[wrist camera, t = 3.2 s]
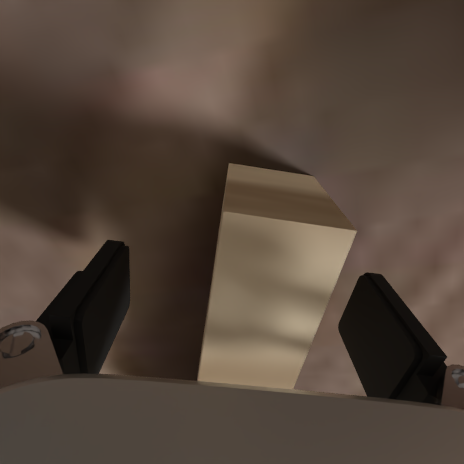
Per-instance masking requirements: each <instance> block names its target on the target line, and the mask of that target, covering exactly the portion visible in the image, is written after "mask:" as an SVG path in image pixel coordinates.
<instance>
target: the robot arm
mask: <svg viewBox="0 0 464 464" xmlns="http://www.w3.org/2000/svg"><path fill="white" fill-rule="evenodd" d="M129 304H130V269H129V247H128V246H125V244H124V242H121V241H113V240H107V241H106V242H105V244H104V245H103V246H102V248H101V249H100V250H99V251H98V253H97V254H96V255H95V256H94V258H93V259H92V260H91V262H90V263H89V264H88V265H87V267H86V268H85V269H84V270H83V271H78V272H76V273H75V274H74V275H73V277H72V278H71V279H70V280H69V281H68V283H67V284H66V285H65V286H64V288H63V289H62V290H61V291H60V292H59V294H58V295H57V296H56V297H55V299H54V300H53V301H52V302H51V303H50V305H49V306H48V307H47V308H46V310H45V311H44V312H43V313H42V314H41V316H40V317H39V318H38V319H37V321H20V322H16V323H12V324H10V325H7V326H5V327H2V328H1V329H0V464H464V366H461V365H450V366H448V367H447V366H446V364H445V363H444V361H445V359H446V358H447V356H446V355H445V353H444V352H443V351H442V350H441V348H440V347H439V346H438V345H437V343H436V342H435V341H434V340H433V338H432V337H431V336H430V335H429V333H428V332H427V331H426V330H425V328H424V327H423V326H422V325H421V323H420V322H419V321H418V319H417V318H416V317H415V316H414V314H413V313H412V312H411V311H410V309H409V308H408V307H407V306H406V304H405V303H404V302H403V301H402V299H401V298H400V297H399V296H398V294H397V293H396V292H395V291H394V289H393V288H392V287H391V286H390V284H389V283H388V282H387V280H386V279H385V278H384V277H383V276H382V275H381V274H375V273H365V274H364V275H362V276H360V277H359V279H358V281H357V283H356V285H355V288H354V290H353V292H352V295H351V297H350V299H349V301H348V304H347V306H346V308H345V310H344V313H343V315H342V317H341V320H340V322H339V326H338V329H339V333H340V335H341V337H342V340H343V342H344V344H345V346H346V349H347V351H348V353H349V356H350V358H351V360H352V362H353V365H354V367H355V369H356V371H357V374H358V376H359V378H360V381H361V383H362V385H363V387H364V390H365V392H366V394H367V397H366V396H356V395H345V394H335V393H325V392H315V391H304V390H293V389H282V388H272V387H261V386H250V385H239V384H228V383H216V382H204V381H193V380H181V379H170V378H158V377H144V376H129V375H115V374H99V372H100V370H101V367H102V365H103V363H104V361H105V359H106V356H107V354H108V352H109V350H110V348H111V345H112V343H113V341H114V339H115V337H116V334H117V332H118V330H119V328H120V326H121V323H122V321H123V319H124V317H125V315H126V312H127V310H128V308H129Z"/></svg>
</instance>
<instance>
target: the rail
mask: <svg viewBox="0 0 464 464" xmlns="http://www.w3.org/2000/svg"><path fill="white" fill-rule="evenodd" d="M356 232H357V230H356V229H355V228H354V227H353V225H352V224H351V223H350V222H349V220H348V219H347V218H346V217H345V215H344V214H343V213H342V212H341V210H340V209H339V208H338V207H337V205H336V204H335V203H334V202H333V200H332V199H331V198H330V197H329V195H328V194H327V193H326V192H325V190H324V189H323V188H322V187H321V185H320V184H319V183H318V182H317V180H316V179H315V178H314V177H313V176H309V175H303V174H296V173H290V172H284V171H277V170H271V169H264V168H258V167H252V166H245V165H239V164H232V163H229V165H228V172H227V179H226V186H225V192H224V199H223V206H222V213H221V220H220V227H219V233H218V240H217V247H216V254H215V261H214V267H213V274H212V281H211V288H210V295H209V302H208V308H207V315H206V322H205V329H204V336H203V342H202V349H201V356H200V363H199V370H198V377H197V381H204V382H216V383H228V384H239V385H250V386H261V387H272V388H282V389H293V388H294V385H295V383H296V380H297V378H298V375H299V373H300V371H301V368H302V366H303V363H304V361H305V358H306V356H307V353H308V351H309V348H310V346H311V343H312V341H313V338H314V336H315V333H316V331H317V329H318V326H319V324H320V321H321V319H322V316H323V314H324V311H325V309H326V306H327V304H328V301H329V299H330V296H331V294H332V291H333V289H334V287H335V284H336V282H337V279H338V277H339V274H340V272H341V269H342V267H343V264H344V262H345V259H346V257H347V254H348V252H349V250H350V247H351V245H352V242H353V240H354V237H355V235H356Z"/></svg>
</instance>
